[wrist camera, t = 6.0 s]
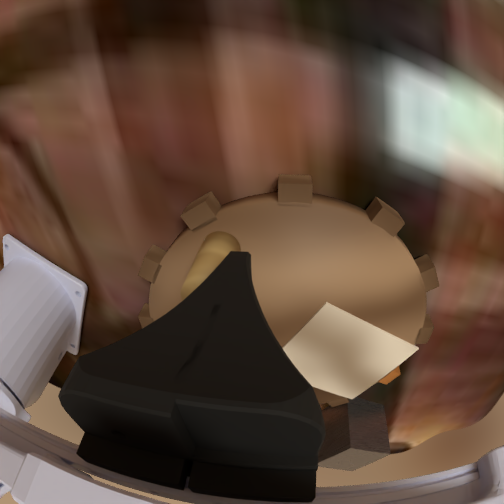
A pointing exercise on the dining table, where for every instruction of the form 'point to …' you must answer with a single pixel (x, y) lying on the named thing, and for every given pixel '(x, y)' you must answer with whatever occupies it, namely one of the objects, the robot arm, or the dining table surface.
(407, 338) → the sprocket
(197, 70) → the dining table surface
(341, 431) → the link block
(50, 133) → the dining table surface
